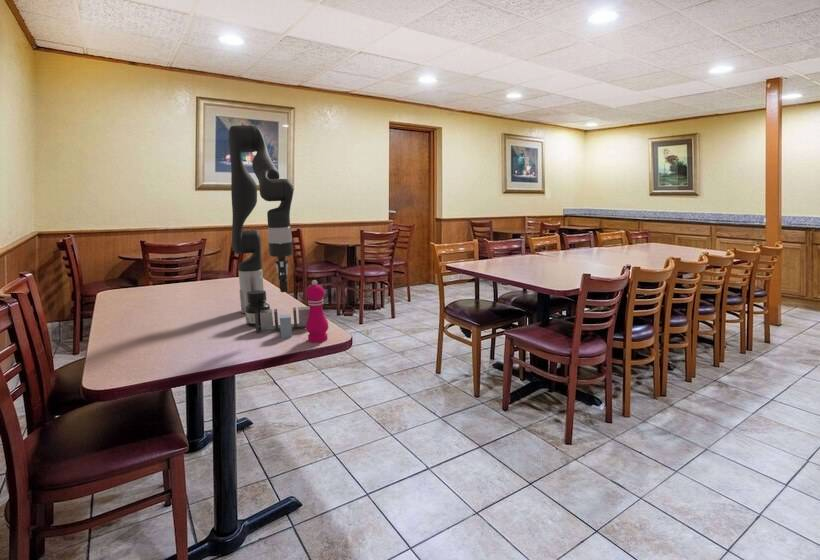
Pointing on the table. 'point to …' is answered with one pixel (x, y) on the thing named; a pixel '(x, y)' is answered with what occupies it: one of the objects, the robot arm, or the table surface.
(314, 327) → the pepper mill
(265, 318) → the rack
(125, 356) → the table surface
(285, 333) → the light grey block
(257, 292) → the ink bottle
